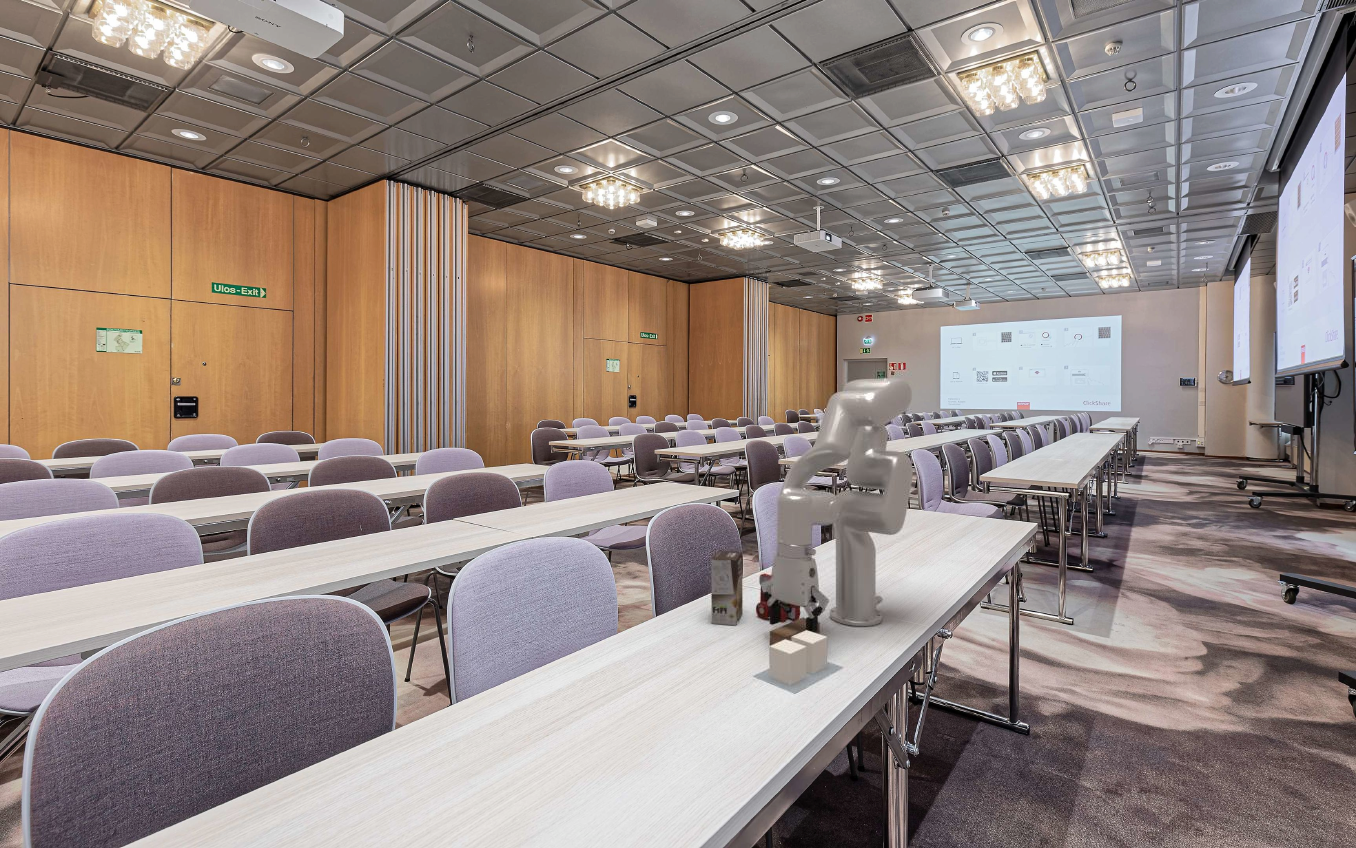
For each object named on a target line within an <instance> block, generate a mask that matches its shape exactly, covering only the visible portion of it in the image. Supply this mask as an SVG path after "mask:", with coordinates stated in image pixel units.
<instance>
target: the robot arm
mask: <svg viewBox="0 0 1356 848" xmlns="http://www.w3.org/2000/svg"><path fill="white" fill-rule="evenodd" d="M912 396H913V391H912V387H911V384H909V382H908V381H907V380H905V379H903V378H898V377H890V378H889V377H888V378H887V377H886V378H885V377H884V378H861V379H855V380H851V381H849V382H847V383H846V384H845V385H844V387H843V389H842V391H837V392H835V393H834V394H833V395H831V396H830V398H829V400H828V402H827V405H826V408H825V411H824V414H823V417H822V420H821V424H820V427H819V430H818V433H817V435H816V440H815V442H814V445H813V446H812V447H811V448H810V449H808V450H807V451H805V453H803V454H802V455H801V456H800V457H799V458H798V459H797V460H796V461H795V462H794V463H793V464H792V466H790V468H789V469H788V471H787V472H786V475H785V477H784V481H783V483H782V486H781V489H780V493H779V495H778V498H777V515H776V517H777V518H776V519H777V520H776V554H775V555H774V556H773V562H772V566H771V574H770V575H771V579H770V580H768V581H765V582H763V583H761V585H760V588H761V587H762V590H763V592H764V597H765V598H766V600H767V604H768V606H770V615H769V625H771V626H772V625H773V626H774V625H777V624H779V623H782V622H781V604H778V603H779V602H780V601H782V602H786V603H789V604H793V605H796V606H800V608H803V609H804V611H805V612H806V614H807V616H808V617H805V618H806V630H807V631H810V632H814V633H817V630H818V622H819V617H820V616H821V615H822V614H823V613H824V612H825V611H826V608H827V606H828V604H829V602H830V599H829V598H828V597H827V596H826V595H824V593H823V592H822V591H820V587H819V586H820V585H819V573H818V568H817V567H818V566H817V562H816V559H815V558H814V557H813V556H815V555H816V553H817V551H816V549H814V548H813V526H830V525H833V527H834V534H835V538H834V539H835V606H834V607H832V608H831V609H830V610H829V618H830V619H832V620H833V621H835V622H837V623H838V624H843V625H846V626H853V627H871V626H875V625H878V624H881V622H882V621H883V614H882V613H881V612H880V611H879V610H877V606H878V605H879V604H881V603H882V602H884V601H883V597H882V596H881V595H876V594H877V593H876V591H877V590H876V588H877V587H876V586H877V583H876V581H877V580H876V579H877V578H876V575H877V574H876V569H877V568H876V565H877V564H876V561H877V560H876V557H877V555H876V551H877V550H876V546H875V543H874V540H873V538H872V536H871V534H870V533H872V534H873V533H874V534H880V535H888V536H893V535H896V534H898V533H899V532H901V530H902V528H903V527H904V524H905V521H906V516H907V510H908V504H909V499H910V496H911V495H910V493H911V489H912V488H911V487H912V483H913V476H914V475H913V472H914V471H913V465H912V464H913V463H912V462H911V459H910V457H909V456H908V455H907V454H905V453H904V452H901V451H896V450H895V451H894V450H887V446H888V445H887V443H888V438H889V433H888V430H887V428H886V427H887V426H886V424H888V423H890V422H892V421H893V420H894V419H896V418H898V417H899V416H900V415H902V414H903V413H905V411H906V410H907V409H908V408H909V406H910V405H911V402H912ZM845 461H847V463H846V468H845V469H846V470H845V477H846V480H847V482H849V484H851V485H852V486H855V487H860V488H866V489H867V488H868V489H873V490H875V489H877V490H883V493H878V492H870V491H860V490H859V491H858V490H844V491H841V492H839V493H838V494H836V495H835V494H834V493H832V492H828V491H822V490H813V489H805V487H806V485H807V483H808V482H809V480H811V479H812V478H813V477H814V476H815V475H817V474H818V473H819V472H823V470H826V469H829V468H831V467H834V466H837V465H839V464H841V463H844V462H845ZM770 586H771V591H770ZM817 604H818V606H817Z"/></svg>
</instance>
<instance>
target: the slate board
mask: <svg viewBox="0 0 1356 848" xmlns="http://www.w3.org/2000/svg"><path fill="white" fill-rule="evenodd" d="M843 668H844V666H841V665H838V664H835V663H833V662H829V661H827V667H825V668H823V669H822V670H820V671H818V672H816V673H814V674H811V673H808V672H806V678H804V679H802V680H800V681H798V682H797V683H795V684H793V685H791V686H790V685H788V684H785V683H783V682H780V681H778V680H776V679H773V678H771V677H769V668H767V669H765V670H762V671H760V672H758V673H756V674H755V675H752V677H754V678H756V679H758V680H761V681H763V682H766V683H768V684H770V685H773V686H774V687H777V688H780V689H782V690H784V691H787V692H790V693H792V694H795V695H796V694H798V693H799V692H801V691H803V690H805V689H807V688H809V687H811V686H812V685H814V684H816V683H817V682H820V681H822V680H823V679H825V678H828V677H829V676H831V675H833V674H835V673H837V672H838V671H840V670H842V669H843Z"/></svg>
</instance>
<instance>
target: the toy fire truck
mask: <svg viewBox="0 0 1356 848" xmlns="http://www.w3.org/2000/svg"><path fill="white" fill-rule="evenodd" d="M758 579H759V585H760V591H759V592H760V597H759V598H760V599H759V602H758V603H757V604H756V607H755V613H756V615H757V617H758V618H760V619H761V618H762V619H761V620H766V619H768V618H769V619H770V617H769V615H770V606H768V604H767V600H766V598H765V597H764V592H763V590H762V587H761V583H763V582H765V581H768V580H770V579H771V574H768V573H762V574H759V578H758ZM770 591H771V586H770ZM778 604H781V622H780V623H784V622H786V621H787V619H790V620H792V621H796V620H798V619H801V618H800V617H801V613H802V611H801V607H800V606H796V605H793V604H789V603H786V602H782V601H780V602H779V603H778Z"/></svg>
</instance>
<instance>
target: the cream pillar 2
mask: <svg viewBox="0 0 1356 848" xmlns="http://www.w3.org/2000/svg"><path fill="white" fill-rule="evenodd" d="M792 642H795V643H798V644H801V645H803V646H806V672H808V673H811V674H814V673H816V672H818V671H820V670H822V669H823V668H825V667H827V662H828V636H825V635H822V634H821V633H820V634H817V633H814V632H810V631H807V630H806V631H803V632H801V633H799V634H797V635H794V636H792Z"/></svg>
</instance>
